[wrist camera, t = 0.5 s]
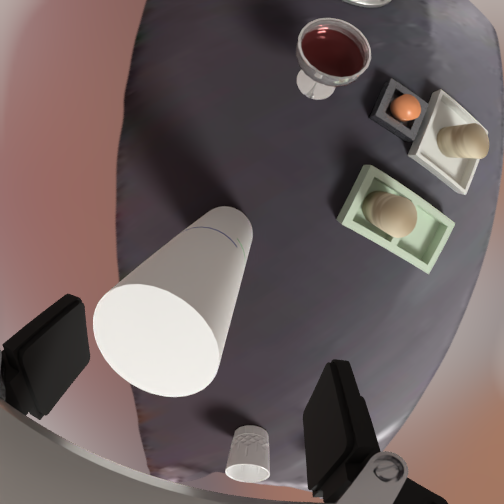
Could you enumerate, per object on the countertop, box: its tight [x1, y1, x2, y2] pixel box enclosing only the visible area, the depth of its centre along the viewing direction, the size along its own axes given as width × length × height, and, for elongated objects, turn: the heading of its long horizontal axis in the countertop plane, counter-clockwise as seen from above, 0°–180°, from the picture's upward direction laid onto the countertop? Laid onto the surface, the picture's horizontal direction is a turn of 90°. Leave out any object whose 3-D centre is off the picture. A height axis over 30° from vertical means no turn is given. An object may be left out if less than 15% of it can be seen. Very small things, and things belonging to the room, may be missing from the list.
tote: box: [408, 89, 488, 195], centre depth 30 cm, size 11×10×2 cm
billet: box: [437, 123, 489, 159], centre depth 27 cm, size 4×4×7 cm
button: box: [390, 94, 421, 122], centre depth 28 cm, size 3×3×3 cm
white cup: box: [225, 425, 270, 482], centre depth 44 cm, size 8×8×10 cm
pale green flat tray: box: [336, 165, 455, 274], centre depth 34 cm, size 8×15×3 cm, turn 65°
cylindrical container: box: [93, 206, 253, 397], centre depth 25 cm, size 7×7×25 cm
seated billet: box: [362, 191, 417, 238], centre depth 31 cm, size 4×4×7 cm
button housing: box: [369, 78, 429, 142], centre depth 30 cm, size 6×6×2 cm
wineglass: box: [296, 18, 371, 100], centre depth 25 cm, size 7×7×12 cm
